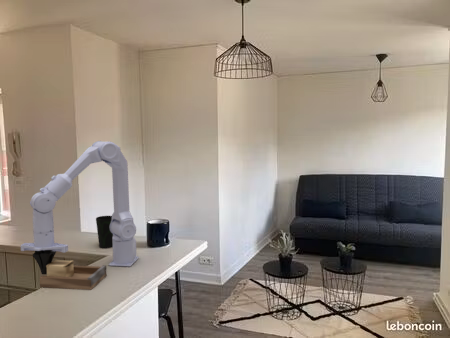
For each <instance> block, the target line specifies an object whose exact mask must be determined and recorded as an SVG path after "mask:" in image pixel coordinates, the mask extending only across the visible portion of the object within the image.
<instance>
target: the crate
mask: <svg viewBox="0 0 450 338" xmlns="http://www.w3.org/2000/svg"><path fill="white" fill-rule="evenodd" d="M74 261H75V260H73V259H72V260H63V259H61V260H60V259H53V260H52V262H51V263H50V264H48V265H46V268H47V274H46V276H59V277H71V276H73V275H74V264H75V262H74Z"/></svg>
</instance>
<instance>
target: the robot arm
mask: <svg viewBox="0 0 450 338" xmlns="http://www.w3.org/2000/svg"><path fill="white" fill-rule="evenodd" d="M121 150H122V149H121V147H120V146H119V145H118V144H117V143H115V142H112V141H101V140H98V141H95V142H93V143H92V145H91V146H89V147H87V148H86V149H85V151H83V153H82V154H81V155H80V156H79V157H78V158H77V159H76V160H75V161H74V162H73V163H72V164H71V166H70V167H69V168H68V169H67V170H66V171H65V172H64V173H57V174H56V175H52V176H51V177H50V179H51V180H50V181H49V182H48V183H47V184H46V185H45V186H44V187H41V188H40V189H39V191H38V192H36V193H34V194H33V195H32V197H31V199H30V201H29V204H30V205H29V206H30V207H31V208H32V224H33V225H32V226H33V227H32V228H33V229H32V230H33V242H24V243H22V244H20V251H21V252H25V251H31V252H32V251H33V252H34V253H32V257H33V258H34V260H35V261H36V263H37V265H38V268H39V270H40V273H41V275H47V268H46V265H48V264H50V263H51V262H53V261H54V257H55V255H56V253H57V252H61V253H67V252H69V244H66V243H65V244H63V243H58V242H55V228H54V225H55V223H54V222H55V221H54V213H53V212H54V211H53V210H54V209H55V208H56V207H55V206H56V203H57V202H58V201H60V199H61V198H62V197H63V196H64V195H65V194H66V193H67V192H68V191H69V190H70V189H71V188H72V187H73V180H74V179H76V178H77V177H78V176H79V175H80V174H81V173H82V172H83V171H84V170H85V169H87V167H89V166H90V165H91V164H96V163H100V162H104V163H105V164H107V165H108V166H109V167H110V168H111V174H112V175H111V177H112V196H113V197H112V199H113V201H112V202H113V213H112V214H111V216H112V221H111V223H110V231H111V232H112V233H113V237H112V240H113V247H112V261H110V262H109V263H108V267H110V266H112V267H113V266H114V267H131V266H133V264H134V263H135V262H136V261H137V260H139V258H140V257H139V256H137V240H136V238H135V236H136V234H137V226H136V225H135V223H134V217H133V215H132V213H131V212H130V195H129V194H130V193H129V192H130V191H129V167H128V165H129V164H128V160H127V159H126V157H125V155H124V153H123V152H122V151H121Z"/></svg>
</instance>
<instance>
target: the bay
mask: <svg viewBox="0 0 450 338" xmlns="http://www.w3.org/2000/svg"><path fill="white" fill-rule="evenodd" d="M106 277H107V265H106V264H103V265H101V266H96V265H95V266H93V265H91V266H90V265H76V264H75V265H74V275H73V276H71V277H59V276H47V275H41V276H40V277H39V288H44V289H45V288H48V289H65V290H68V289H69V290H88V291H89V290H90V291H91V290H93V289H94V288H95V287H96V286H97V285H98V284H99V283H100V282H102V281H103V280H104V279H105V278H106Z"/></svg>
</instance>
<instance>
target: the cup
mask: <svg viewBox="0 0 450 338" xmlns="http://www.w3.org/2000/svg"><path fill="white" fill-rule="evenodd" d="M111 221H112V215H102V216H101V215H100V216H97V217H96V218H95V223H96V230H97V237H98V238H97V240H98V247H99V249H111V248H113V240H112V237H113V233H112V232H111V231H110V223H111Z"/></svg>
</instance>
